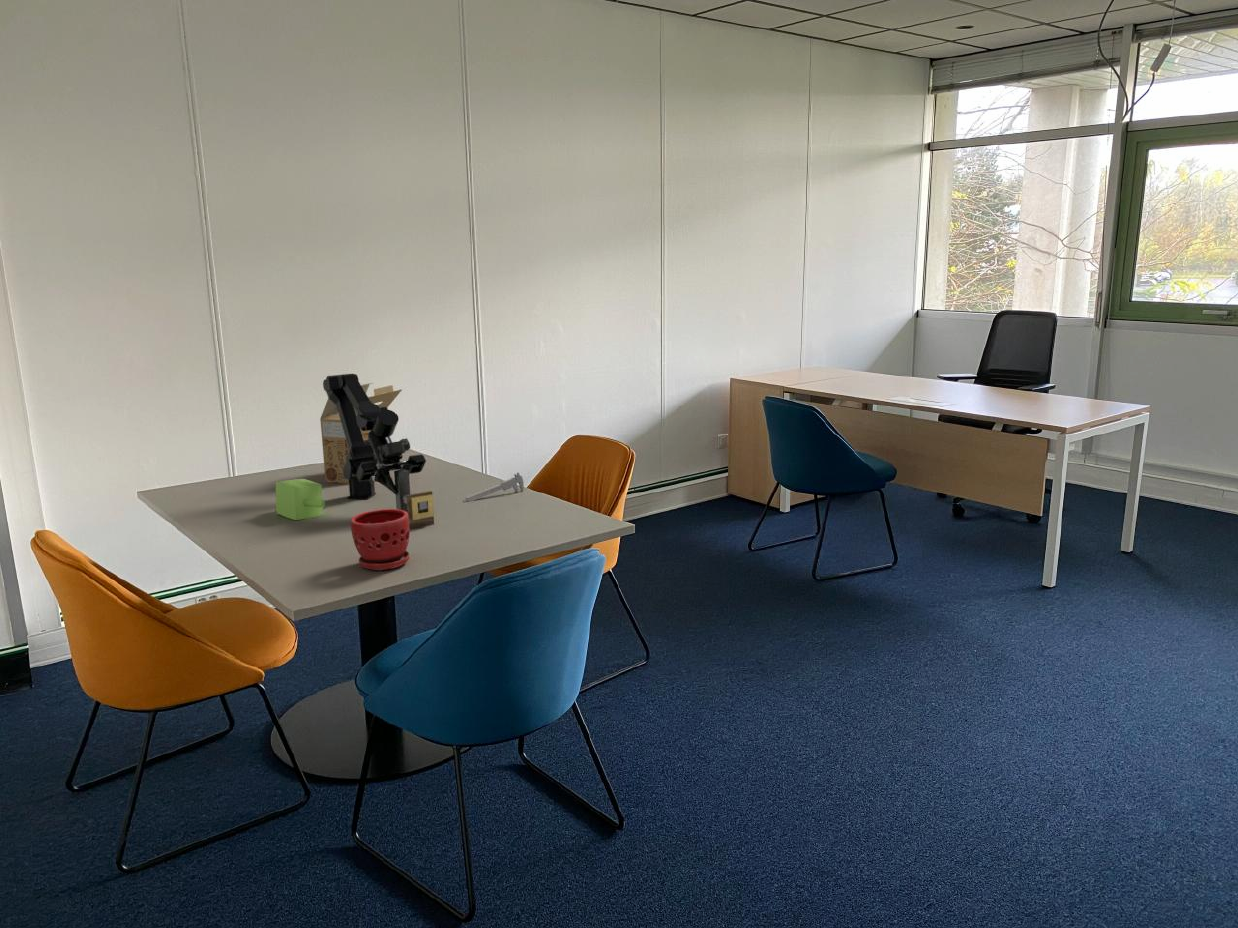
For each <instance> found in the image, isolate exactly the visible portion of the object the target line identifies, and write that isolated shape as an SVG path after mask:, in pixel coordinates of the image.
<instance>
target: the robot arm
mask: <svg viewBox="0 0 1238 928" xmlns="http://www.w3.org/2000/svg"><path fill="white" fill-rule="evenodd" d="M322 385H323V386H322V387H323V391H325V393H326V395H327V399H328V398H329V399H330V400H331V401H332V402H333V403H335V404H336V406H337V409H338V413H339V416H340V420H341V423H342V427H343V430H344V433H345V437H346V440H347V444H348V447H349V450H348V453H347V456H346V464H345V466H344V469H343V474H344V477H345V478H347V479H349V484H348V490H349V495H348V496H347V499H349V500H350V499H358V500H359V499H360V500H367V499H370V498H372V497H373V496H375V495H376V489H375V488H376V487H375V482H378V483H379V484H381V485H382V486H384V487H385V488H386V489H388V490H389V491H390V492H391V493H393V494H394V495H396V494H397V490H396V487H395V482H394V481H393V478H392V476H391V473H390V472H392V471H393V472H394V471H396V470H402V469H405V470H408V471H409V475H410V474H411V475H412V474H419V473H421V472H422V471H423V469H424V467H425V465H426V462H427V459H426V458H425V456H424V454H421V453H419V454H411V455H409V456H408V459H407V460H404V461H401V460H402V459H403V457H404V456H403V454H404V453H405V454H406V452H407V451H409V450H410V449H411V444H410V441H409V439H408V438H402V439H400V440H399V441H392V438H391V436H392V435H394V433H395V430H396V428H397V425H398V423H399V416H398V414H397V413H396V412H395V411H393V410H391V409H389V408H387V407H379V406H378V405H379V404H376V403H374V404H373V403H372V402H371V401H370V400H369V398H368V397H369V396H368V394H367V392H366V393H365V391H364V390H363V388H362V386H361V385H362V384H361V383H360V381H359V377H358V375H357V374H356V373H346V374H345V373H344V374H343V373H342V374H334V375H327V376H326V377H325V379H324V380H323V382H322ZM354 408H355V410H356V412H357V416H356V413H355V410H354ZM360 429H361V430H362V431H369V430H371V431H370V432H369V434H368V440H367V443H368V444H371V445H367V444H366V443H364V440H363V437H362V433H361V430H360ZM373 451H374V452H373ZM374 454H375V455H374ZM378 463H379V464H378ZM372 476H373V477H374V479H373V477H372Z"/></svg>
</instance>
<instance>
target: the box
mask: <svg viewBox="0 0 1238 928" xmlns="http://www.w3.org/2000/svg"><path fill="white" fill-rule="evenodd" d="M372 384H373V382H368V383H363V384H360V385H361V386H362V388H363V390H364V391H365V393H366V394H367V392H368V390H369V387H370V385H372ZM402 391H403V389H402V388H401V389H398V390H394V386H393V385H387V386H384V387H378V388H374V389H373V394H374V395H372V396H368V398H369V400H370V401H371V402H372V403H373V404H377V403H378V404H377V405H378V406H379V407H387V408H388V407H389V406H390V405H391V404H392V403H393V402H394V400H396V398H397V397H398V396H399V394H400V393H401V392H402ZM379 403H380V404H379ZM388 409H389V408H388ZM354 410H355V408H354ZM355 413H356V416H357V412H356V410H355ZM319 420H320V431H321V441H322V442H321V443H322V454H323V455H322V456H323V467H324V477H325V482H326V481H329V482H328V483H334V482H338V483H337V484H346V483H348V484H347V485H349V479H347V478H345V477H344V474H343V469H344V466H345V464H346V456H347V453H348V450H349V447H348V444H347V440H346V437H345V433H344V430H343V427H342V423H341V420H340V416H339V413H338V409H337V406H336V404H335V403H333V402H332V401H331V400H330V399H329V398H328V397H327V400H326V403H325V406H324V408H323V411H322V413H321V415H320V419H319ZM360 430H361V429H360ZM370 431H371V430H369V431H362V430H361V433H362V437H363V440H364V443H366V444H367V445H371V444H368V443H367V440H368V434H369V432H370ZM373 452H374V451H373ZM374 455H375V454H374ZM378 464H379V463H378Z"/></svg>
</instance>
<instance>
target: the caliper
mask: <svg viewBox="0 0 1238 928" xmlns="http://www.w3.org/2000/svg"><path fill="white" fill-rule="evenodd" d="M513 476H514V477H511V478H508V479H506V480H503V481H500V483H499V484H497V485H494V486H492V487H489V488H487V489H484V490H481V491H478V492H476V493H474V494H471V495H468V496H466V497H465V499H463V500H462V502H463V503H467V502H473V501H475V500H476V501H477V500H478V499H480V498H483V497H486V496H489V495H491V494H493V493H497V492H499V491H501V490H502V491H503V492H505V491H507V490H510V489H511V488H513V490H514V491H515V493H519V492H524V491H525V490H524V489H525V488H524V487H525V486H524V485H525V484H524V479H523V476H522V475H521V474H520V472H516V473H514V474H513ZM518 486H519V487H518ZM519 490H520V491H519Z"/></svg>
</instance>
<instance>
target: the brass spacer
mask: <svg viewBox="0 0 1238 928" xmlns="http://www.w3.org/2000/svg"><path fill="white" fill-rule="evenodd" d="M433 496H434V495H433V493H432V494H426V495H420V496H415V497H410V507H411V519H412V520H417V519H422V518H428V517H433V516H434V517H435V515H434V514H435V512H434V511H435V510H434V497H433ZM425 501H426V504H427V509H426V510H427V511H423V512H418V510H419V509H418V504H417V503H419V502H425Z"/></svg>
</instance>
